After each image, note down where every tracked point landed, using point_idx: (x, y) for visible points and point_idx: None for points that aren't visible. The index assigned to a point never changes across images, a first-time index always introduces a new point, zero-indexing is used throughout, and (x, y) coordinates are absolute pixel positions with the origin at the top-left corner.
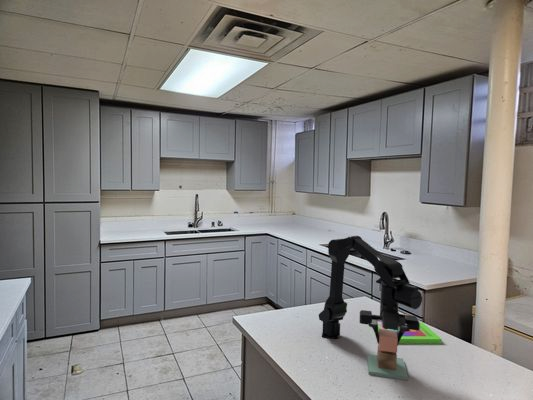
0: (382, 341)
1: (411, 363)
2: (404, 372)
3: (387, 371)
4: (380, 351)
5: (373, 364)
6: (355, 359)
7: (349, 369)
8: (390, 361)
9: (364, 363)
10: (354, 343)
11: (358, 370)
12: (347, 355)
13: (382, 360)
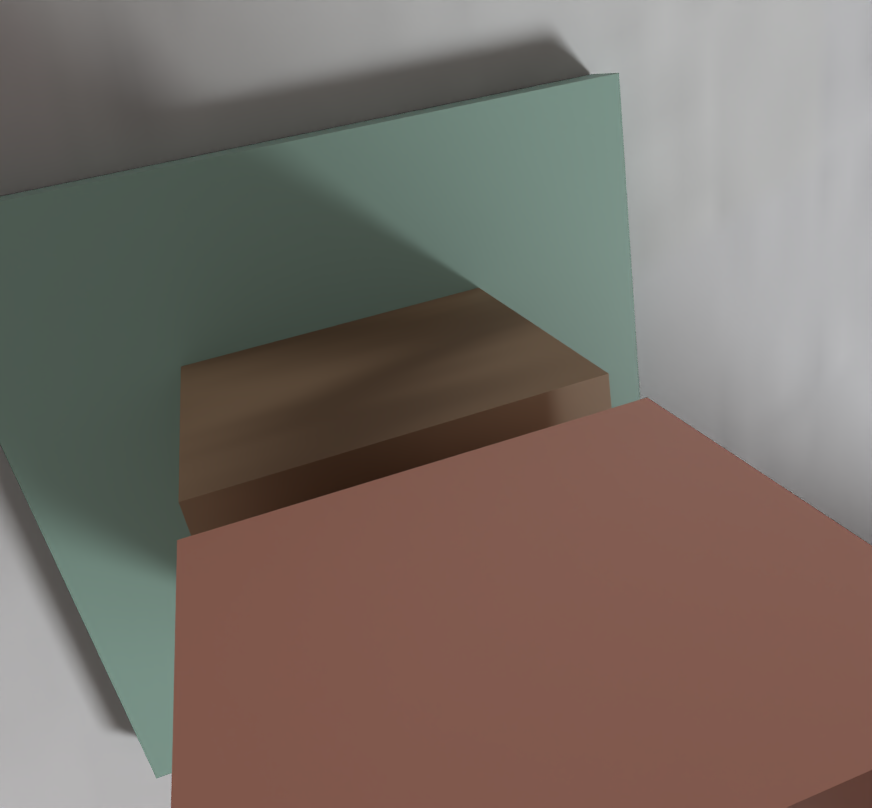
0: (752, 563)
1: (20, 766)
2: (14, 367)
3: (316, 238)
4: None
5: None
6: (769, 415)
7: (851, 86)
8: (306, 387)
9: (659, 377)
10: None
11: (733, 124)
12: (857, 456)
13: (464, 343)
